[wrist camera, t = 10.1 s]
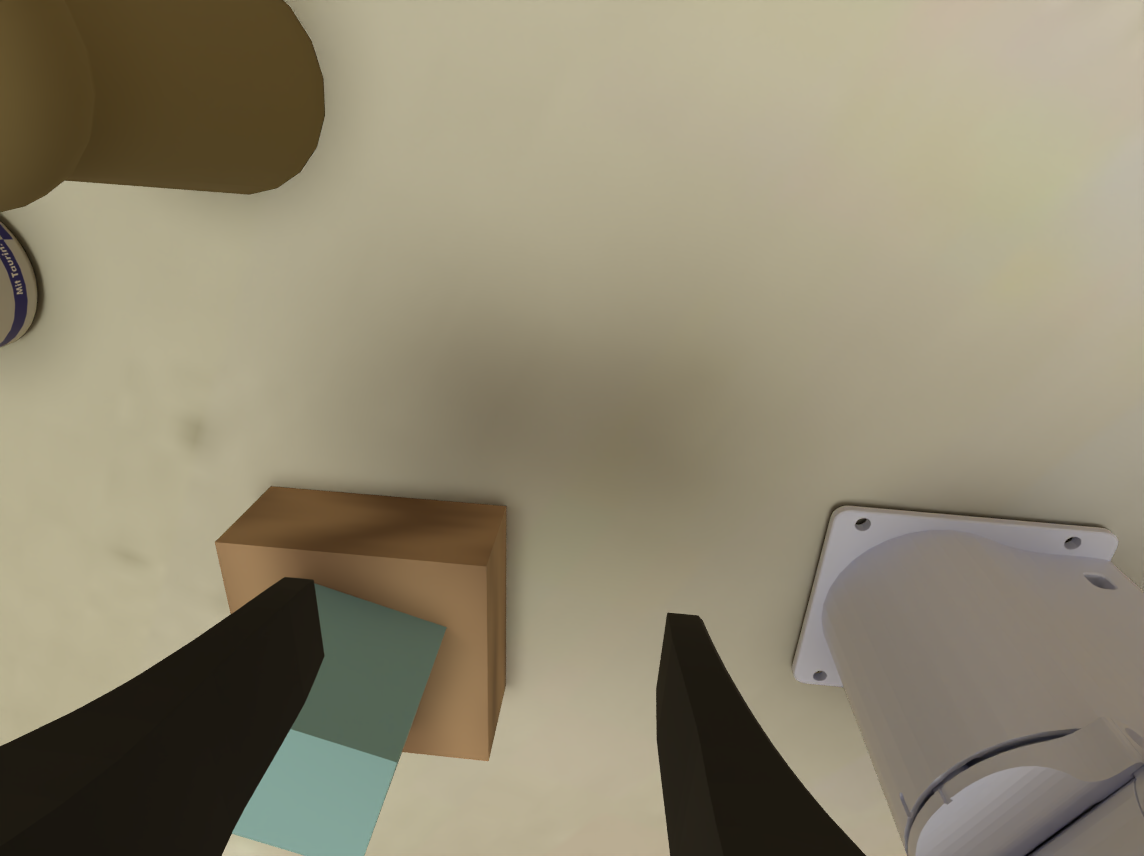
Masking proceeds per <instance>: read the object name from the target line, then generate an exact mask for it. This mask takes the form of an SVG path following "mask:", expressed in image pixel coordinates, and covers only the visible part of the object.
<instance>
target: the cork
mask: <svg viewBox="0 0 1144 856" xmlns="http://www.w3.org/2000/svg"><path fill="white" fill-rule="evenodd" d="M324 116H325V108H324V86H323V76H322V73H321V70H320V67H319V64H318V61H317V58H316V54H315V51H314V48H313V45H312V42H311V40H310V38H309V37H308V35H307V34H306V32H305V30H304V29H303V27H302V26H301V24H300V22H299V21H298V19H297V17H296V16H295V14H294V13H293V11H292V9H291V8H290V7H289V6H288V5H287V4H286V3H285V2H284V1H283V0H0V212H3V211H7V210H11V209H15V208H20V207H24V206H26V205H28V204H30V203H32V202H34V201H36V200H38V199H39V198H41V197H43V196H45V195H47V194H48V193H49V192H50V191H52V190H53V189H54V188H55V187H57V186H58V185H59V184H60V183H62V182H63V181H64V180H66V181H79V182H92V183H105V184H118V185H131V186H144V187H157V188H171V189H184V190H197V191H210V192H223V193H236V194H254V193H258V192H262V191H267V190H271V189H275V188H278V187H279V186H281V185H282V184H284V183H285V182H287V181H288V180H289V179H291V178H292V177H294V176H295V175H297V174H298V173H299V172H300V171H301V170H302V168H303V167H304V165H305V164H306V162H307V161H308V159H309V158H310V156H311V155H312V153H313V152H314V150H315V149H316V147H317V144H318V140H319V136H320V132H321V128H322V124H323V120H324Z"/></svg>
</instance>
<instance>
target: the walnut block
mask: <svg viewBox="0 0 1144 856" xmlns="http://www.w3.org/2000/svg"><path fill="white" fill-rule="evenodd" d="M215 545H216V549H217V554H218V558H219V563H220V567H221V572H222V577H223V581H224V586H225V590H226V595H227V599H228V604H229V608H230V613H231V614H232V613H234V612H235V611H236V610H238V609H239V608H241V607H242V606H243V605H245V604H246V603H248V602H249V601H250V600H252V599H253V598H255V597H256V596H258V595H259V594H260V593H262V592H263V591H265V590H266V589H268V588H269V587H270V586H272V585H273V584H275V583H276V582H278V581H279V580H281V579H282V578H284V577H292V578H302V579H313V580H314V583H315V584H318V585H321V586H324V587H327V588H330V589H333V590H336V591H339V592H342V593H345V594H348V595H351V596H354V597H357V598H360V599H363V600H366V601H369V602H372V603H375V604H378V605H381V606H384V607H387V608H390V609H393V610H396V611H399V612H402V613H405V614H408V615H411V616H414V617H417V618H420V619H423V620H426V621H429V622H432V623H435V624H438V625H441V626H444V627H447V628H446V631H445V634H444V637H443V639H442V642H441V645H440V648H439V650H438V653H437V656H436V659H435V662H434V664H433V667H432V670H431V673H430V676H429V678H428V681H427V684H426V687H425V690H424V692H423V695H422V698H421V701H420V704H419V706H418V709H417V712H416V715H415V717H414V720H413V723H412V726H411V729H410V731H409V734H408V737H407V740H406V742H405V745H404V748H403V751H402V752H408V753H417V754H427V755H436V756H445V757H455V758H464V759H474V760H483V761H489V757H490V753H491V748H492V744H493V739H494V735H495V731H496V726H497V722H498V717H499V713H500V708H501V704H502V700H503V695H504V691H505V686H506V506H499V505H487V504H475V503H463V502H451V501H439V500H427V499H415V498H403V497H391V496H379V495H367V494H355V493H343V492H331V491H320V490H308V489H296V488H284V487H272V486H271V487H270V488H269V489H268V490H267V491H266V492H265V493H264V494H263V495H262V496H261V497H260V498H259V499H258V500H257V501H256V502H255V503H254V504H253V505H252V506H251V507H250V508H249V509H248V510H247V511H246V512H245V513H244V514H243V515H242V516H241V517H240V518H239V519H238V520H237V521H236V522H235V523H234V524H233V525H232V526H231V527H230V528H229V529H228V530H227V531H226V532H225V533H224V534H223V535H222V536H221V537H220V538H219V539H218V540H217V541H216V542H215Z"/></svg>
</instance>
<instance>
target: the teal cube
mask: <svg viewBox="0 0 1144 856" xmlns="http://www.w3.org/2000/svg"><path fill="white" fill-rule="evenodd" d="M314 584H315V583H314ZM315 591H316V599H317V606H318V613H319V620H320V627H321V634H322V641H323V648H324V655H325V656H324V659H323V661H322V664H321V666H320V669H319V671H318V674H317V676H316V679H315V681H314V683H313V686H312V688H311V690H310V693H309V695H308V697H307V700H306V702H305V704H304V706H303V708H302V709H301V711H300V713H299V715H298V717H297V718H296V720H295V722H294V724H293V725H292V727H291V729H290V731H289V733H288V734H287V736H286V738H285V740H284V741H283V743H282V745H281V747H280V748H279V750H278V752H277V754H276V755H275V757H274V759H273V760H272V762H271V764H270V766H269V767H268V769H267V771H266V773H265V774H264V776H263V778H262V780H261V781H260V783H259V785H258V786H257V788H256V790H255V792H254V793H253V795H252V797H251V799H250V800H249V802H248V804H247V806H246V807H245V809H244V811H243V813H242V815H241V817H240V819H239V820H238V822H237V824H236V826H235V828H234V830H233V832H232V834H235V835H238V836H241V837H245V838H248V839H251V840H255V841H258V842H261V843H265V844H268V845H271V846H275V847H278V848H281V849H285V850H288V851H291V852H295V853H298V854H301V855H305V856H364V855H365V852H366V849H367V847H368V844H369V841H370V838H371V836H372V833H373V830H374V827H375V825H376V822H377V819H378V816H379V814H380V811H381V808H382V805H383V803H384V800H385V797H386V794H387V792H388V789H389V786H390V783H391V781H392V778H393V775H394V772H395V770H396V767H397V764H398V762H399V759H400V756H401V753H402V751H403V748H404V745H405V742H406V740H407V737H408V734H409V731H410V729H411V726H412V723H413V720H414V717H415V715H416V712H417V709H418V706H419V704H420V701H421V698H422V695H423V692H424V690H425V687H426V684H427V681H428V678H429V676H430V673H431V670H432V667H433V664H434V662H435V659H436V656H437V653H438V650H439V648H440V645H441V642H442V639H443V637H444V634H445V631H446V628H447V627H444V626H441V625H438V624H435V623H432V622H429V621H426V620H423V619H420V618H417V617H414V616H411V615H408V614H405V613H402V612H399V611H396V610H393V609H390V608H387V607H384V606H381V605H378V604H375V603H372V602H369V601H366V600H363V599H360V598H357V597H354V596H351V595H348V594H345V593H342V592H339V591H336V590H333V589H330V588H327V587H324V586H321V585H318V584H315Z"/></svg>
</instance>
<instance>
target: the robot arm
mask: <svg viewBox="0 0 1144 856" xmlns="http://www.w3.org/2000/svg"><path fill="white" fill-rule="evenodd" d="M861 518H866V519H867V520H866V522H865V523H863V524H860V525H856V524H855V523H856V522H857V520H859V519H861ZM1071 537H1074V538H1073V539H1072V540H1071V541H1069V542H1067V543H1065V541H1066V540H1067V539H1069V538H1071ZM1118 543H1119V541H1118V538H1117V537H1116V536H1115V535H1114V534H1113V533H1112V532H1110V531H1109V530H1108V529H1105V528H1098V527H1087V526H1076V525H1064V524H1053V523H1041V522H1030V521H1018V520H1007V519H995V518H984V517H973V516H961V515H950V514H938V513H927V512H915V511H904V510H893V509H881V508H870V507H858V506H842V507H839V508H837V509H836V510H835V511H834V512H833V513H832V515H831V518H830V521H829V525H828V529H827V533H826V537H825V541H824V545H823V549H822V552H821V556H820V560H819V564H818V568H817V572H816V576H815V580H814V583H813V587H812V591H811V595H810V599H809V603H808V607H807V611H806V614H805V618H804V622H803V626H802V630H801V634H800V638H799V642H798V645H797V649H796V653H795V657H794V661H793V665H792V672H793V675H794V677H795V679H796V680H797V681H799V682H802V683H808V684H818V685H827V686H837V687H844V689H845V692H846V695H847V697H848V700H849V703H850V705H851V708H852V710H853V713H854V716H855V718H856V721H857V724H858V726H859V729H860V732H861V734H862V737H863V740H864V742H865V745H866V748H867V750H868V753H869V755H870V758H871V761H872V763H873V766H874V769H875V771H876V774H877V777H878V779H879V782H880V785H881V787H882V790H883V792H884V795H885V798H886V800H887V803H888V806H889V808H890V811H891V814H892V816H893V819H894V822H895V824H896V827H897V829H898V832H899V835H900V837H901V840H902V843H903V845H904V848H905V851H906V853H907V856H1144V591H1143V590H1141V589H1140V588H1139V587H1138V586H1137V585H1136V584H1135V583H1134V582H1133V581H1132V580H1130V579H1129V578H1128V577H1127V576H1126V575H1125V574H1124V573H1123V572H1122V571H1120V570H1119V569H1118V568H1117V567H1116V566H1115V565H1114V564H1113V563H1112V562H1111V559H1112V557H1113V555H1114V553H1115V551H1116V549H1117V547H1118ZM324 656H325V655H324V648H323V641H322V634H321V627H320V620H319V613H318V606H317V599H316V591H315V584H314V580H313V579H302V578H292V577H284V578H282V579H281V580H279V581H278V582H276V583H275V584H273V585H272V586H270V587H269V588H268V589H266V590H265V591H263V592H262V593H260V594H259V595H258V596H256V597H255V598H253V599H252V600H250V601H249V602H248V603H246V604H245V605H243V606H242V607H241V608H239V609H238V610H236V611H235V612H234V613H232V614H231V615H229V616H228V617H226V618H225V619H223V620H222V621H221V622H219V623H218V624H216V625H215V626H213V627H212V628H210V629H209V630H208V631H206V632H205V633H203V634H202V635H200V636H199V637H197V638H196V639H195V640H193V641H192V642H190V643H188V644H187V645H185V646H184V647H182V648H181V649H179V650H177V651H176V652H174V653H173V654H171V655H170V656H168V657H166V658H165V659H163V660H162V661H160V662H159V663H157V664H155V665H154V666H152V667H151V668H149V669H148V670H146V671H145V672H143V673H141V674H140V675H138V676H136V677H135V678H133V679H131V680H130V681H128V682H126V683H124V684H123V685H121V686H119V687H117V688H116V689H114V690H112V691H110V692H108V693H107V694H105V695H103V696H101V697H99V698H97V699H96V700H94V701H92V702H90V703H88V704H86V705H85V706H83V707H81V708H79V709H77V710H75V711H73V712H71V713H69V714H67V715H65V716H63V717H61V718H59V719H57V720H55V721H53V722H50V723H48V724H46V725H44V726H42V727H40V728H38V729H36V730H34V731H32V732H30V733H28V734H25V735H23V736H21V737H19V738H17V739H15V740H13V741H11V742H9V743H6V744H4V745H2V746H0V856H222V853H223V851H224V849H225V847H226V845H227V843H228V840H229V838H230V836H231V834H232V832H233V830H234V828H235V826H236V824H237V822H238V820H239V819H240V817H241V815H242V813H243V811H244V809H245V807H246V806H247V804H248V802H249V800H250V799H251V797H252V795H253V793H254V792H255V790H256V788H257V786H258V785H259V783H260V781H261V780H262V778H263V776H264V774H265V773H266V771H267V769H268V767H269V766H270V764H271V762H272V760H273V759H274V757H275V755H276V754H277V752H278V750H279V748H280V747H281V745H282V743H283V741H284V740H285V738H286V736H287V734H288V733H289V731H290V729H291V727H292V725H293V724H294V722H295V720H296V718H297V717H298V715H299V713H300V711H301V709H302V708H303V706H304V704H305V702H306V700H307V697H308V695H309V693H310V690H311V688H312V686H313V683H314V681H315V679H316V676H317V674H318V671H319V669H320V666H321V664H322V661H323V659H324ZM817 671H822V672H821V673H815V672H817ZM656 720H657V746H658V755H659V763H660V772H661V781H662V789H663V798H664V806H665V815H666V823H667V832H668V840H669V848H670V856H866V855H865V854H864V853H863V852H862V851H861V850H860V849H859V848H858V847H857V845H856V844H855V843H854V842H853V841H852V840H851V839H850V838H849V837H848V836H847V835H846V834H845V833H844V831H843V830H842V829H841V828H840V827H839V826H838V825H837V824H836V823H835V822H834V821H833V820H832V819H831V817H830V816H829V815H828V814H827V813H826V812H825V811H824V809H823V808H822V807H821V806H820V805H819V803H818V802H817V801H816V800H815V799H814V797H813V796H812V795H811V794H810V793H809V791H808V790H807V789H806V788H805V787H804V785H803V784H802V783H801V781H800V780H799V779H798V778H797V776H796V775H795V774H794V772H793V771H792V770H791V769H790V767H789V766H788V765H787V763H786V762H785V761H784V759H783V758H782V756H781V755H780V754H779V752H778V751H777V749H776V748H775V747H774V745H773V744H772V742H771V741H770V739H769V738H768V736H767V735H766V734H765V732H764V731H763V729H762V728H761V726H760V725H759V723H758V722H757V720H756V718H755V717H754V715H753V714H752V712H751V711H750V709H749V707H748V706H747V704H746V702H745V701H744V699H743V697H742V696H741V694H740V692H739V691H738V689H737V687H736V686H735V684H734V682H733V680H732V679H731V677H730V675H729V673H728V671H727V670H726V668H725V666H724V664H723V662H722V660H721V658H720V656H719V654H718V652H717V650H716V648H715V646H714V644H713V642H712V640H711V638H710V636H709V634H708V632H707V629H706V627H705V625H704V622H703V620H702V619H701V618H700V617H699V616H697V615H686V614H676V613H667V619H666V626H665V632H664V639H663V646H662V653H661V660H660V667H659V674H658V680H657V687H656Z"/></svg>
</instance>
